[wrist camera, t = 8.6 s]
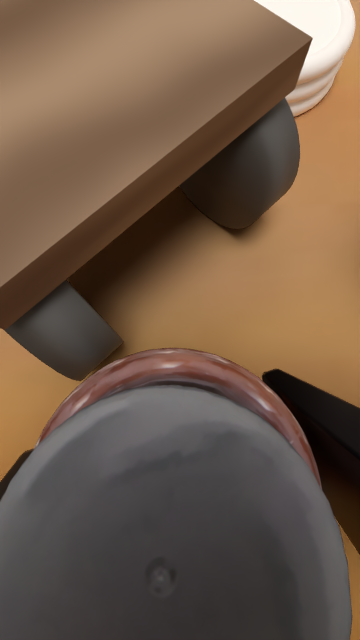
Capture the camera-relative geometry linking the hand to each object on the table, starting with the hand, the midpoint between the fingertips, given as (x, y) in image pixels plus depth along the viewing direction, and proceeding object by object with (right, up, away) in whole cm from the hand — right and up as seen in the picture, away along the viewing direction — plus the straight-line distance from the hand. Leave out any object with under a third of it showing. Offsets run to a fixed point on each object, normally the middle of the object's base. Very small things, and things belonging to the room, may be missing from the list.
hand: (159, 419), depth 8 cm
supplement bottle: (+1, -3, +6) cm, 7 cm away
